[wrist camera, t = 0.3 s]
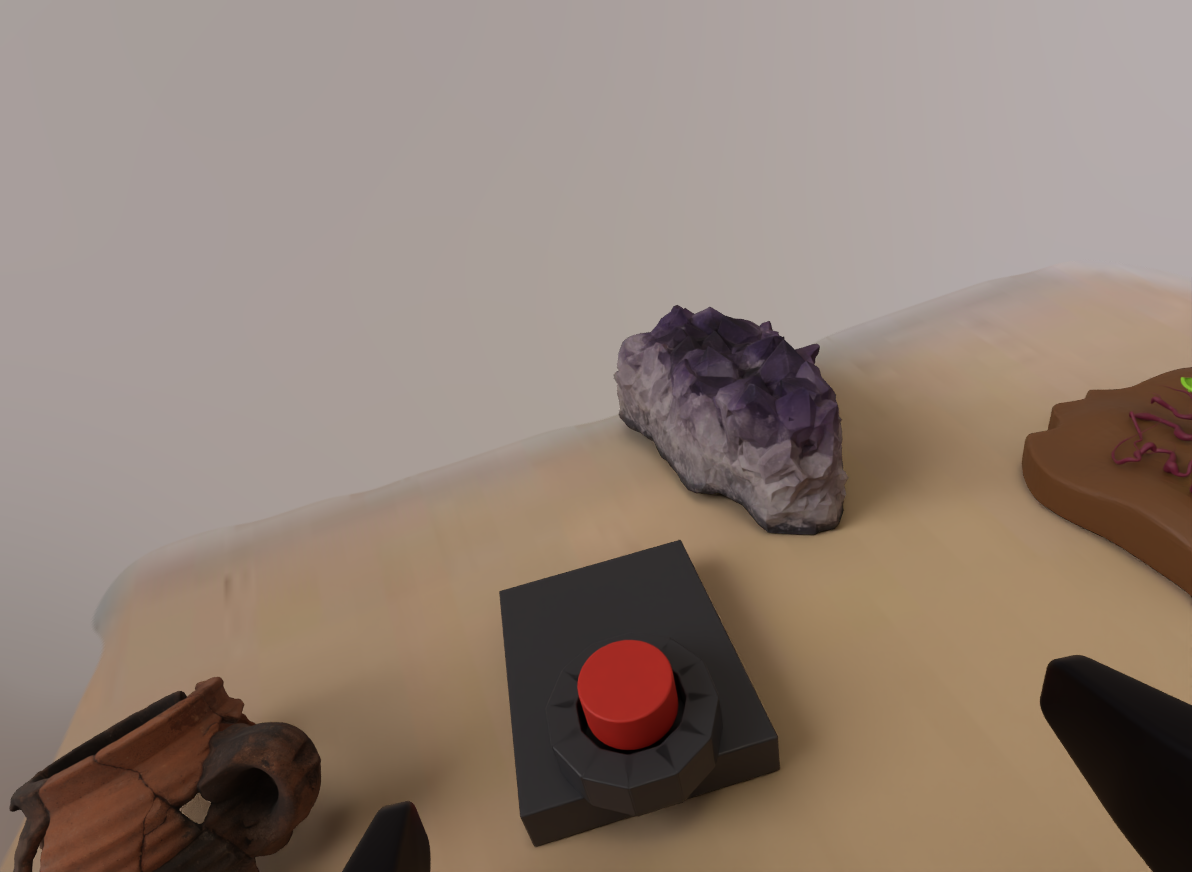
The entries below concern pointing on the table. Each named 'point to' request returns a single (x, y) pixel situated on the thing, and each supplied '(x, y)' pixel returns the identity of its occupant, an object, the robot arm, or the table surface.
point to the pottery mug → (171, 791)
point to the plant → (1123, 469)
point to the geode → (738, 416)
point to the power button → (628, 694)
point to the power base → (556, 718)
